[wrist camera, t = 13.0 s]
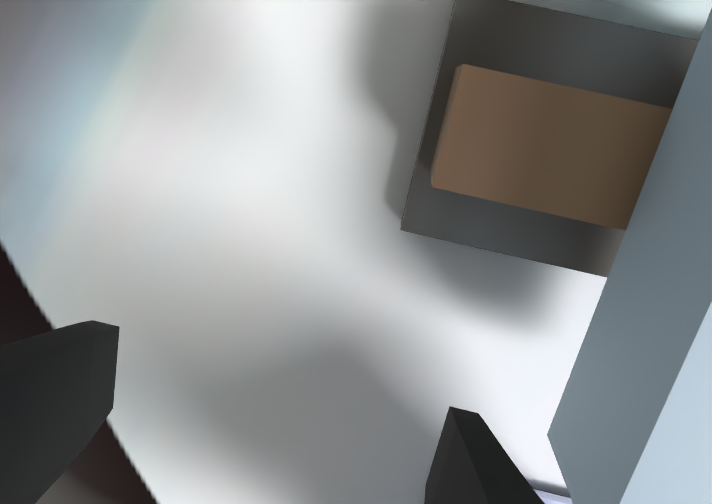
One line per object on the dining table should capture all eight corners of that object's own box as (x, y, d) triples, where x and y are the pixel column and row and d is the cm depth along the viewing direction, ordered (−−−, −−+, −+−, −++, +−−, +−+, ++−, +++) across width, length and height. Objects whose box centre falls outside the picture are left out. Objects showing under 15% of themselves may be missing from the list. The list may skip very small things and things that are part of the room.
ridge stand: (940, 98, 18) (1092, 102, 14) (825, 319, 20) (926, 376, 16) (456, -4, 18) (467, -29, 14) (401, 222, 21) (398, 254, 17)
